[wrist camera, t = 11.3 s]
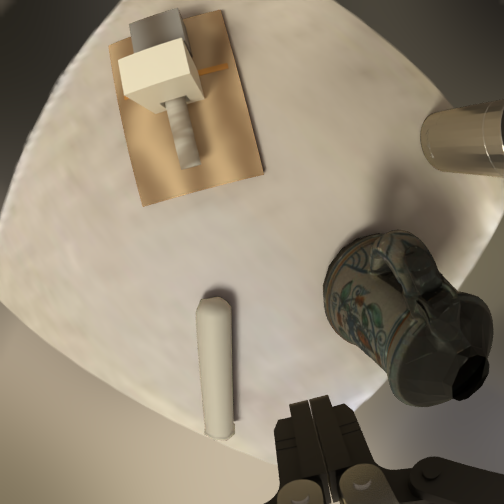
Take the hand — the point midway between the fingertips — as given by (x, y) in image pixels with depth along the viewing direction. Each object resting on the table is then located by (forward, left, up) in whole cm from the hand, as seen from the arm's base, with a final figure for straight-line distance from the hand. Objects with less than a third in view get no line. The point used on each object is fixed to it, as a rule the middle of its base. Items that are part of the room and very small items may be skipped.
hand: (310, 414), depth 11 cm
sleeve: (+6, -21, -30) cm, 37 cm away
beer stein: (-13, +10, -32) cm, 36 cm away
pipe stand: (+6, -20, -32) cm, 38 cm away
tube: (+11, +18, -32) cm, 39 cm away
